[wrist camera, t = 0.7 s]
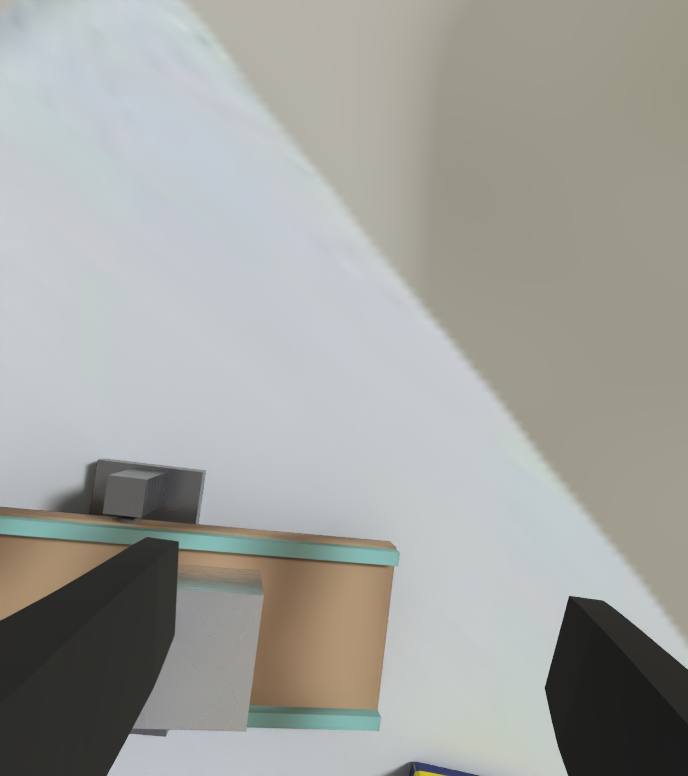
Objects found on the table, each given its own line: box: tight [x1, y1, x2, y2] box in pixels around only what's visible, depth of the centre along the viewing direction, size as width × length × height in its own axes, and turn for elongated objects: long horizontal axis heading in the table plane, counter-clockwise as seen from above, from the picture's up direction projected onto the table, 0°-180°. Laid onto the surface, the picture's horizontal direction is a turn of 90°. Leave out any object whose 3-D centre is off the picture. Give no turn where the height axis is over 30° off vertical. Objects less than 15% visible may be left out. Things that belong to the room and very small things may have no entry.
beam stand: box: [89, 459, 206, 736], centre depth 25 cm, size 5×12×4 cm, turn 173°
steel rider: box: [132, 564, 264, 731], centre depth 22 cm, size 5×5×4 cm
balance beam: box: [0, 507, 400, 731], centre depth 24 cm, size 22×8×2 cm, turn 83°
